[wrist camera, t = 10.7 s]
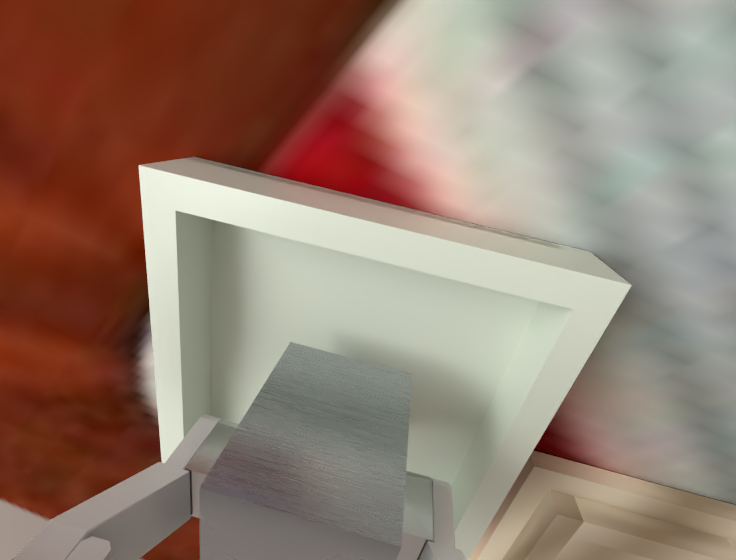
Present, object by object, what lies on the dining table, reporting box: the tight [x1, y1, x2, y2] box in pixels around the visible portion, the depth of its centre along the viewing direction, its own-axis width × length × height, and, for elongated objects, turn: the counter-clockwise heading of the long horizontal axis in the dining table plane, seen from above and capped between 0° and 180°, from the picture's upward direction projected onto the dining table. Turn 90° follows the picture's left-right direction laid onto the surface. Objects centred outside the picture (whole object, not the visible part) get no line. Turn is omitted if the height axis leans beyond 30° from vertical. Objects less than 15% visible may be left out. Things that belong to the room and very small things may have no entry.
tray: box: [139, 157, 632, 560], centre depth 13 cm, size 13×13×2 cm
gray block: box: [199, 342, 412, 560], centre depth 10 cm, size 4×4×5 cm
